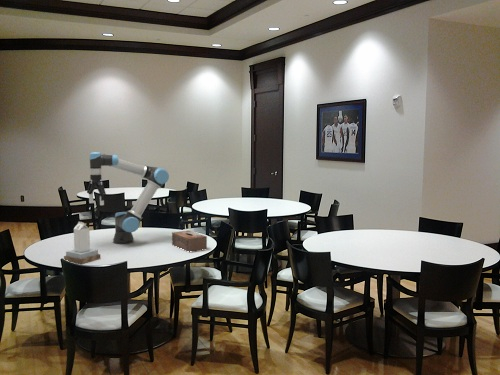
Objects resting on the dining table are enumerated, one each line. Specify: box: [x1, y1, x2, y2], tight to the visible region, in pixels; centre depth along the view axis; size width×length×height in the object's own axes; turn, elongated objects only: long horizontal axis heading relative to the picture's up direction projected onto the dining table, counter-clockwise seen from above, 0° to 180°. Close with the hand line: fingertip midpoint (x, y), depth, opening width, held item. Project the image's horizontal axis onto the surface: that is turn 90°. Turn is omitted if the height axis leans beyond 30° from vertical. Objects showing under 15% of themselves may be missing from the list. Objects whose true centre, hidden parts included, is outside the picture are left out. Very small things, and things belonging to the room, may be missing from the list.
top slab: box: [65, 248, 99, 259], centre depth 302 cm, size 14×14×3 cm
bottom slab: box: [63, 253, 101, 265], centre depth 303 cm, size 16×16×3 cm
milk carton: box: [73, 221, 91, 252], centre depth 301 cm, size 7×7×19 cm
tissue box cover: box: [171, 230, 208, 253], centre depth 339 cm, size 26×14×10 cm, turn 37°
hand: (96, 204), depth 327 cm, fingers open, 13 cm apart
